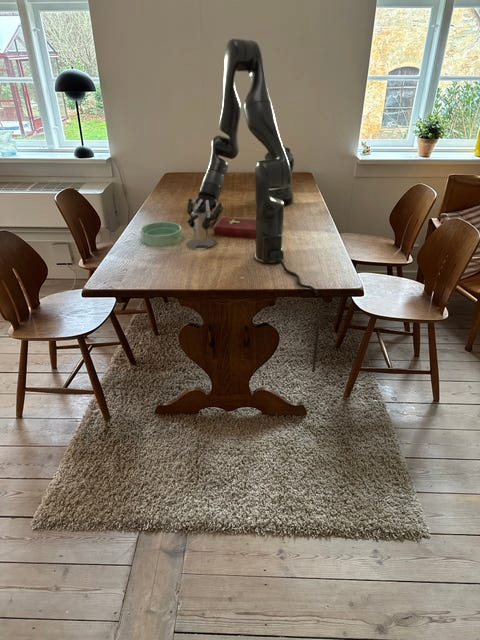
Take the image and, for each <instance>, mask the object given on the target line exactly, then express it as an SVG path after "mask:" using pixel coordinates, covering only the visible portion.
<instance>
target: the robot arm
mask: <svg viewBox="0 0 480 640" xmlns="http://www.w3.org/2000/svg"><path fill="white" fill-rule="evenodd" d="M262 55H263V54H262V51H261V47H260V44H259V43H258V42H257V41H255V40H252V39H246V38H245V39H244V38H231V39H229V40H228V42H227V44H226V46H225V51H224V59H223V60H224V61H223V82H222V83H223V84H222V86H223V88H222V89H223V91H222V106H221V112H220V117H219V124H218V129H219V130H220V131H221V132H222V133H224V134H225V135H227V136H228V137H227V136H224V135H220V134H218V135H215V136H214V137H213V138H212V140H211V143H210V160H209V163H208V166H207V169H206V173H205V175H204V176H203V179H202V182H201V185H200V188H199V191H198V196H197V197H196V198H195V199H192V198H189V199H188V201H187V210H186V211H187V212H186V213H187V214H188V215H189V217H190V218H192V217H193V211H194V210H206V211H207V218H206V219H205V222H204V225H203V228H204V229H205V230H207V231H208V229H209V228H210V227H211V226H210V222H211V221H212V220H215V221H218V218H219V216H220V215H221V213H222V212H223V209H224V208H225V207H224V205H223V204H222V203H221V202H218V201H219V199H220V196H221V192H222V190H223V186H224V182H225V178H226V175H227V172H228V168H229V164H228V162H227V161H226V160H225V159H228V160H234V159H236V158H237V156H238V154H239V152H240V143H239V127H240V121H241V116H242V104H241V100H240V98H239V95H238V91H237V87H236V82H235V78H236V73H237V72H239V73H248V76H249V79H250V87H249V89H248V92H247V94H246V96H245V100H244V103H243V114H244V117H245V122H246V125H247V128H248V130H249V132H250V133H251V134H252V135H253V136H254V138H256V140H258V141H259V142H260V143H261V145H263V147H265V149H266V150H267V153H268V152H269V154H270V156H271V159H272V160H265V159H262V160H259V161H257V162H256V164H255V167H254V196H255V197H254V198H255V219H256V239H255V252H254V253H255V254H254V259H255V260H256V261H257V262H260V263H262V264H263V265H267V264H276V263H280V265H281V267H282V268H283V270H284V271H285V272H286V273H287V274H289V275H292V276H294V277H295V278H296V281H297V285H299V286H300V287H301V288H304V289H310V290H311V291H313V293H314V294H315V295H316V296H319V292H318V290H317V289H316V288H315V287H314V286H311V285H308V284H303V283H302V282H301V278H300V276H299V274H297V273H296V272H294V271H292V270H289V268H287V266H286V265H285V263H284V262H283V260H284V250H283V238H284V237H283V236H284V217H285V206H284V202H283V201H282V200H280V199H278V198H274V197H271V196H269V190H276V189H283V188H287V187H288V186H289V185H290V183H291V184H292V173H291V170H290V166H289V162H288V159H287V156H286V154H285V151H284V148H283V145H284V144H283V141H282V140H281V137H280V132H279V128H278V125H277V120H276V115H275V111H274V108H273V104H272V100H271V96H270V94H269V93H270V92H269V89H268V85H267V80H266V74H265V68H264V61H263V56H262ZM223 158H225V159H223ZM213 209H214V211H213ZM188 225H189V227H190V228H192V229H194V225H193V221H192V222H190V223H188ZM319 333H320V326H317V325H316V326H315V341H314V347H313V348H314V349H313V360H312V369H311V373H314V374H315V372H316V362H317V353H318V343H319Z"/></svg>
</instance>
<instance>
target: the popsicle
mask: <svg viewBox="0 0 480 640" xmlns="http://www.w3.org/2000/svg"><path fill="white" fill-rule="evenodd" d="M215 223H216V220H212V221H211V222H210V226H209V227H211V226H214V224H215Z"/></svg>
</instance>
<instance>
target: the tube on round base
mask: <svg viewBox="0 0 480 640" xmlns="http://www.w3.org/2000/svg"><path fill="white" fill-rule="evenodd" d="M193 210H194V209H193ZM206 218H207V211H206V210H199V209H198V210H194V211H193V217H192V218H191V217H189V219H187V221H186V223H188V224H189V223H190V222H192V221H193V225H194V227H193V237H194V238H193V239H196V240H205V239H207V238H208V239H209V233H208V229H207V230H205V229H204V228H203V225H204V222H205V219H206Z"/></svg>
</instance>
